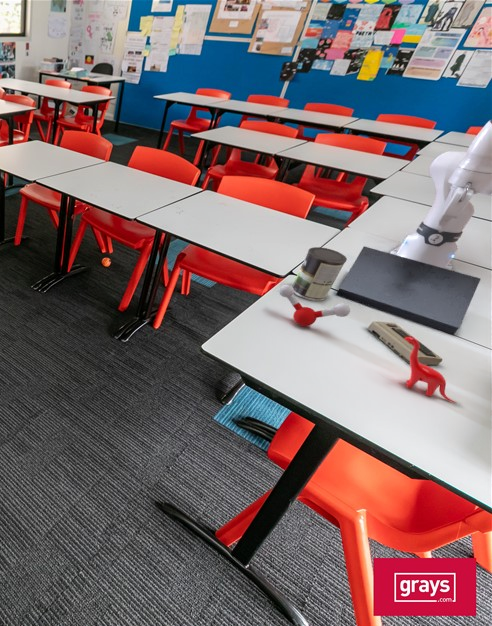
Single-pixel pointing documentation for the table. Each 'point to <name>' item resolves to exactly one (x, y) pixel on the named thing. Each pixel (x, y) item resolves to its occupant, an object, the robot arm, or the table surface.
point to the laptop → (397, 312)
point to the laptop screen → (411, 286)
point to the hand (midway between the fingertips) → (441, 224)
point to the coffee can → (318, 273)
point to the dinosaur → (424, 373)
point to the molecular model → (306, 314)
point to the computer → (402, 342)
